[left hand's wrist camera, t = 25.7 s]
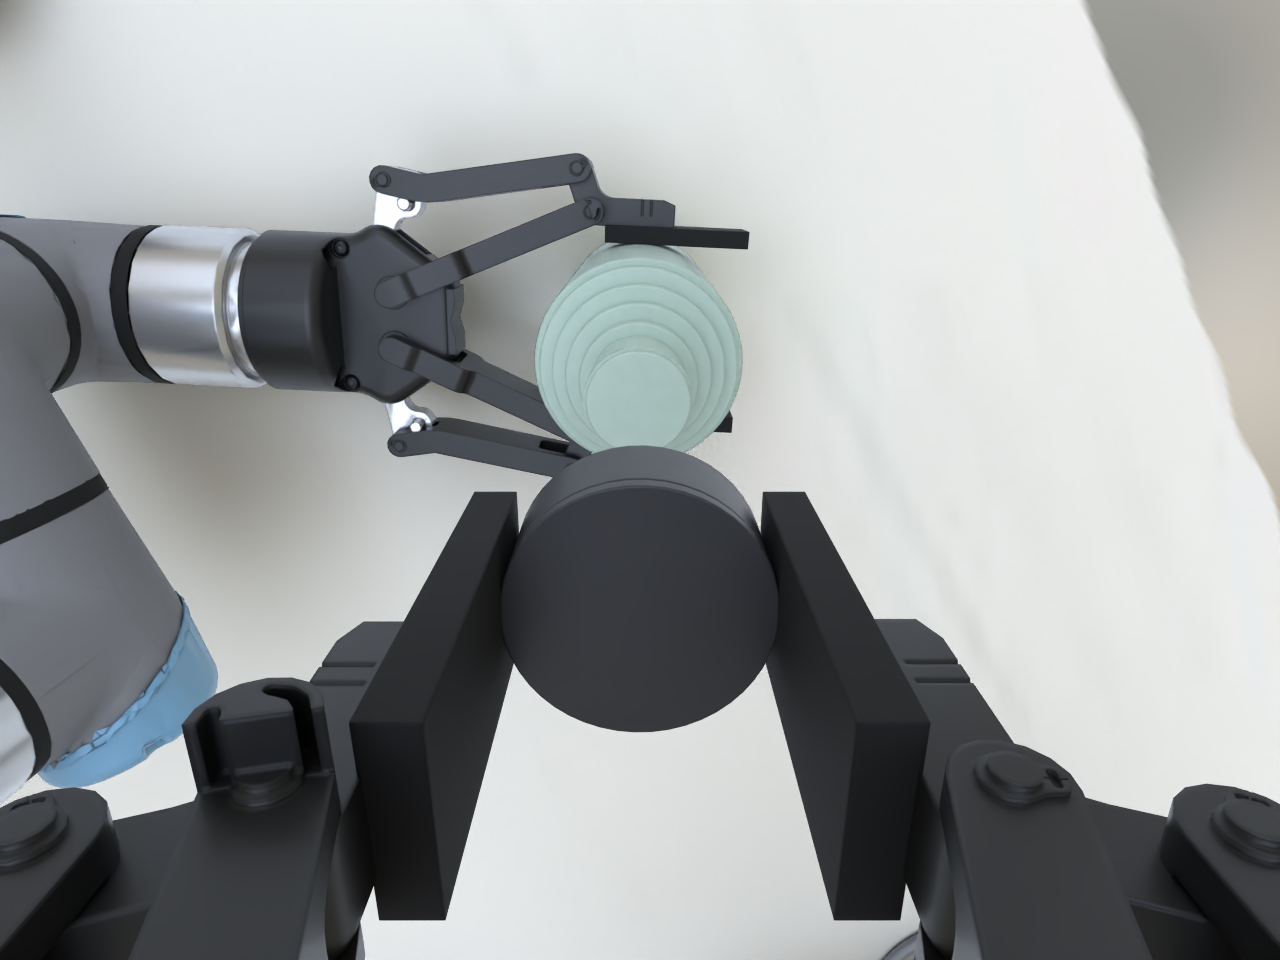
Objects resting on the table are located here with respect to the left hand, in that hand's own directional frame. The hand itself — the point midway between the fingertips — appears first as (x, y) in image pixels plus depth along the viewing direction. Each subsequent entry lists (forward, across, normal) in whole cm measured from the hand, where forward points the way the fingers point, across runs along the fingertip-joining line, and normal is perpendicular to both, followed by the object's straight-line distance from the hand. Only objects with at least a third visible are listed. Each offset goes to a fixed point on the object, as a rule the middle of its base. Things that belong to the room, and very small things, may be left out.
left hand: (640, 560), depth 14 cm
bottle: (+32, 0, 0) cm, 32 cm away
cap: (-2, 0, 0) cm, 2 cm away
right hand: (+25, -5, 0) cm, 26 cm away
